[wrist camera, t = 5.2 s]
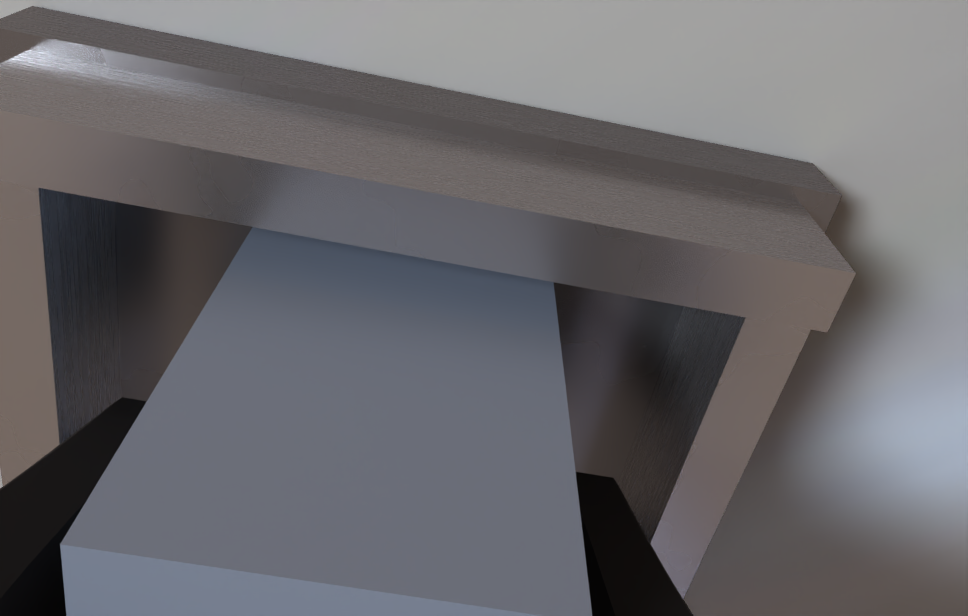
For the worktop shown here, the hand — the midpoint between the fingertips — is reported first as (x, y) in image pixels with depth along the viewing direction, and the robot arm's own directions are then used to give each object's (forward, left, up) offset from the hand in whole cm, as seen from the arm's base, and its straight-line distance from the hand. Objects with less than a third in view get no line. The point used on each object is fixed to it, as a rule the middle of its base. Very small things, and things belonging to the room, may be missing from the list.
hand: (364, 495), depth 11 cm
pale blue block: (0, 0, -2) cm, 2 cm away
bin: (-4, 0, -3) cm, 6 cm away
